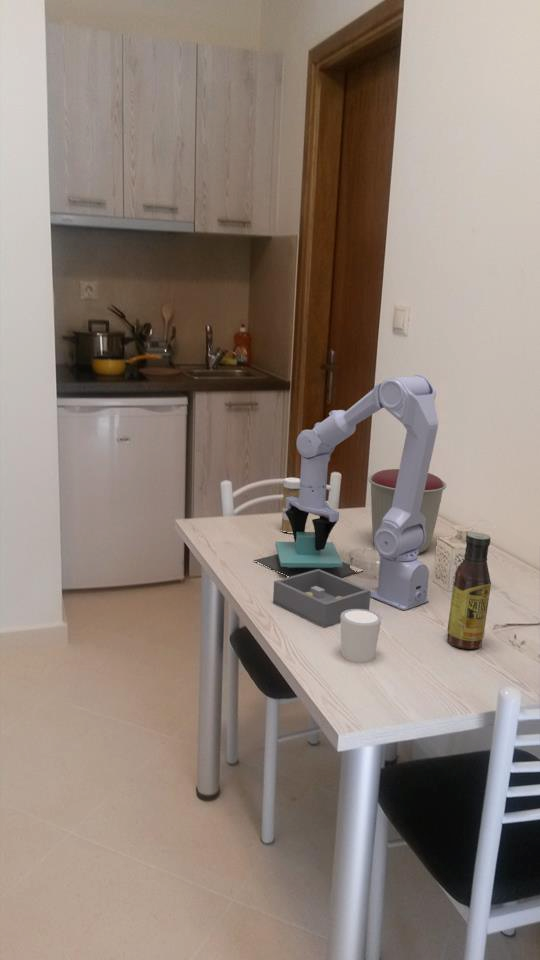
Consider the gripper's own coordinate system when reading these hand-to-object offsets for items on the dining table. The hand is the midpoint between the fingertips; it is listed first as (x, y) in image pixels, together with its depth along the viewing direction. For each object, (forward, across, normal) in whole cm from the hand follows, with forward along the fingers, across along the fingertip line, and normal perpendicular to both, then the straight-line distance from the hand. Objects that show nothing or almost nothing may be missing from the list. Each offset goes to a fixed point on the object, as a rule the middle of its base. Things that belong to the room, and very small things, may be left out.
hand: (309, 545), depth 175 cm
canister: (+5, -3, -28) cm, 29 cm away
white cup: (+5, -36, +23) cm, 43 cm away
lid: (+3, 0, 0) cm, 3 cm away
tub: (+5, -18, +14) cm, 23 cm away
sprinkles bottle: (+5, +21, -14) cm, 26 cm away
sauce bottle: (+5, -44, +4) cm, 44 cm away
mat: (+5, 0, 0) cm, 5 cm away
